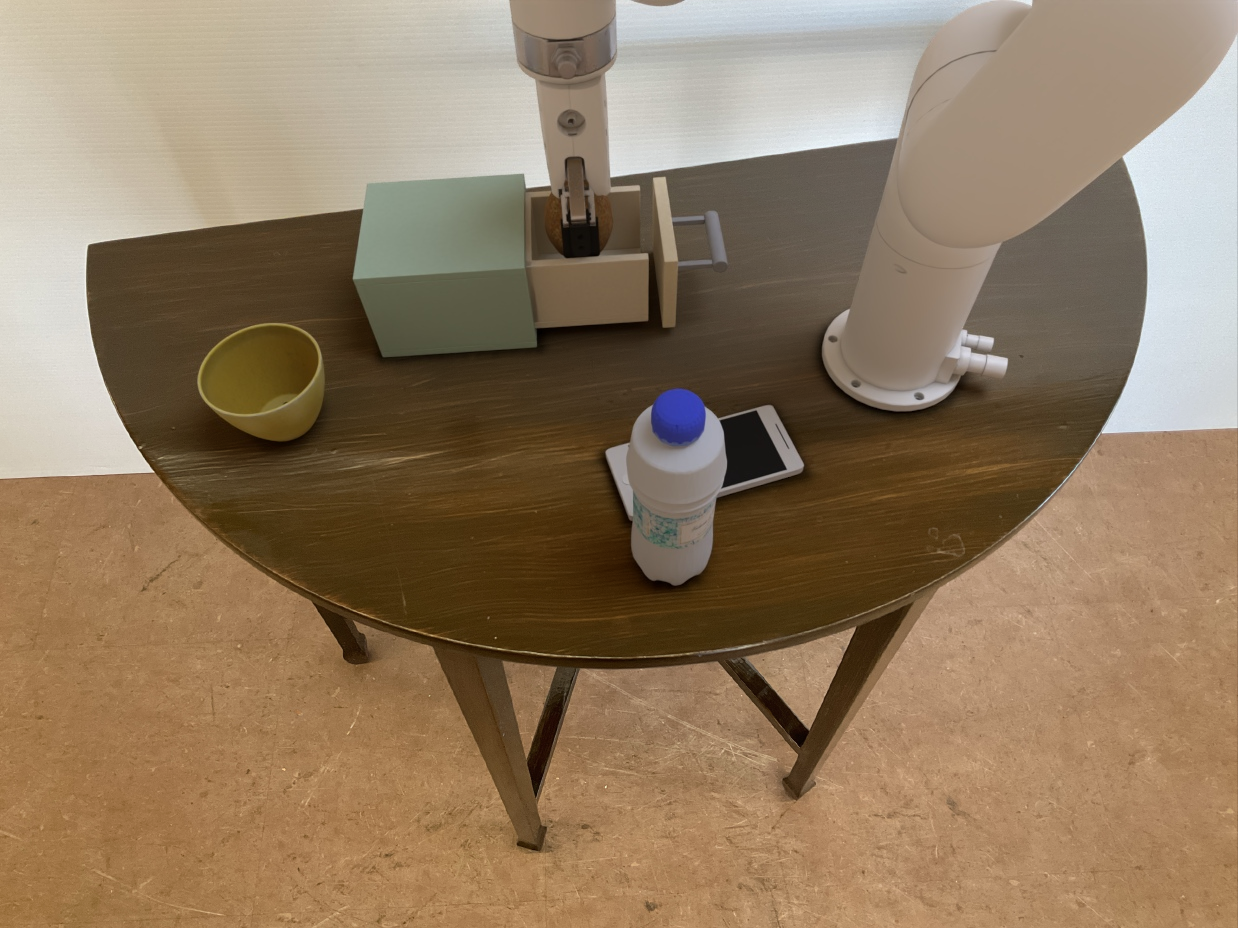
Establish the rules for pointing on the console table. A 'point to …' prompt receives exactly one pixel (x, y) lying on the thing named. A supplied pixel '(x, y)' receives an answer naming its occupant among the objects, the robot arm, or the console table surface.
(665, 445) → the bottle
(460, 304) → the cabinet
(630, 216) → the drawer
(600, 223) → the fruit
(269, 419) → the flower pot
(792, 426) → the console table surface
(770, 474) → the smartphone
